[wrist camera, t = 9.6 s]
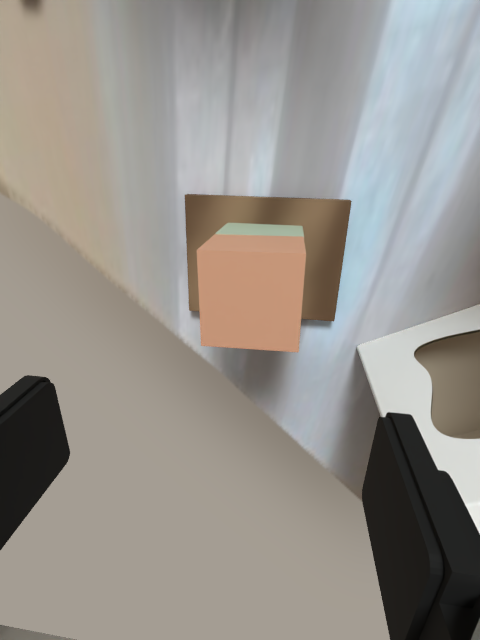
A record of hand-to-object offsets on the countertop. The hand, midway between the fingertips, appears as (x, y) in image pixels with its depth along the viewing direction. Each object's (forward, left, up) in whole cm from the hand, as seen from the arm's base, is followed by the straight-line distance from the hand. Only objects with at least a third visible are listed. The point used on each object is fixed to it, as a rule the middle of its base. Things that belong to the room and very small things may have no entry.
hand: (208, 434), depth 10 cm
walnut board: (0, 0, -22) cm, 22 cm away
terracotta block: (0, 0, -16) cm, 16 cm away
